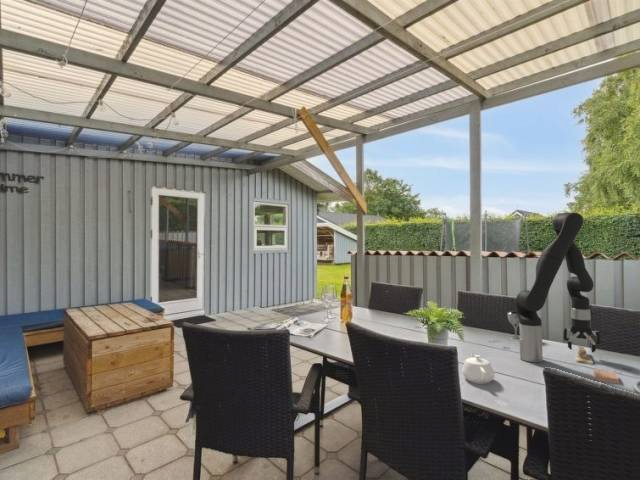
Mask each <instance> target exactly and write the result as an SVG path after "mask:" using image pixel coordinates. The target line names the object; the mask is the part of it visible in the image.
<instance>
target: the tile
mask: <svg viewBox="0 0 640 480" xmlns="http://www.w3.org/2000/svg"><path fill="white" fill-rule="evenodd" d="M592 372H593V376H594V378H595V381H597V380H598V382H606V383H611V384H617V385H618V384H620V382H619V378H618V376H617V374H616V372H614V371H608V370H607V371H605V370H601V369H595V368H594V369H593V370H592Z"/></svg>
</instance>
